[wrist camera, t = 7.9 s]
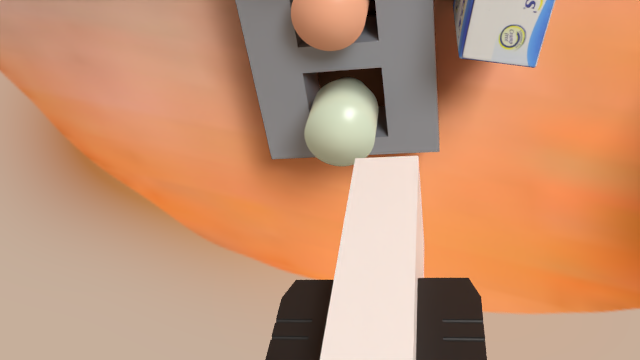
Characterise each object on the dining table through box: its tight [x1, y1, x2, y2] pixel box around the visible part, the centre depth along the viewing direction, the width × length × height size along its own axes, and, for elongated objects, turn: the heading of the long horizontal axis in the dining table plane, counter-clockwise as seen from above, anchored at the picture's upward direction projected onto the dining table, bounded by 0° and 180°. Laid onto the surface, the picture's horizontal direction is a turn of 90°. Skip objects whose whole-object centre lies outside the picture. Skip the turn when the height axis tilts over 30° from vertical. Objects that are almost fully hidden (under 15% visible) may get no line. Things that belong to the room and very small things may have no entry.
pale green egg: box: [304, 77, 379, 166], centre depth 40 cm, size 4×4×6 cm
